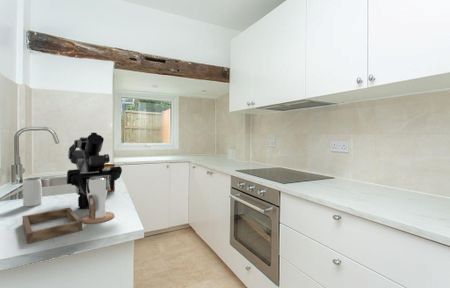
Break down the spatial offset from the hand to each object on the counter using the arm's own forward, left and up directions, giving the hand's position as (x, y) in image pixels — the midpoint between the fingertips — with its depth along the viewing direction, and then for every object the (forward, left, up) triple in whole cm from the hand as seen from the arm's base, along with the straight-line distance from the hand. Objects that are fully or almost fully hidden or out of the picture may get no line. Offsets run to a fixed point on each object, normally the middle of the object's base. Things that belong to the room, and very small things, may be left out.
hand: (99, 192), depth 85 cm
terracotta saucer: (0, -1, -10) cm, 10 cm away
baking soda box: (0, -47, -11) cm, 48 cm away
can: (+28, -32, -11) cm, 44 cm away
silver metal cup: (+1, -1, -10) cm, 10 cm away
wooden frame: (+14, +2, -10) cm, 18 cm away
